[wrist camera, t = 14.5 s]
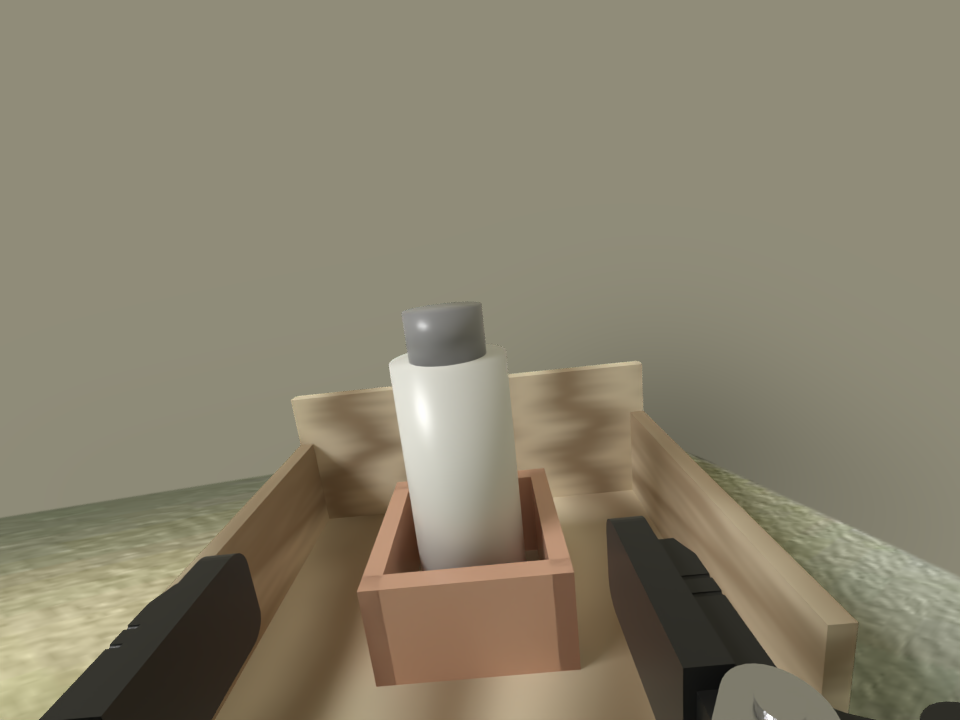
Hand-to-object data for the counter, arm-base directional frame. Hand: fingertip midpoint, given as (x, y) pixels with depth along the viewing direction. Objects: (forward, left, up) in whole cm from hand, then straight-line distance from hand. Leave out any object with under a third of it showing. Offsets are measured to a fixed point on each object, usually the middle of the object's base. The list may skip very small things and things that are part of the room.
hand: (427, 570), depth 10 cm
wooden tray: (0, +10, -10) cm, 14 cm away
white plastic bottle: (0, +9, -9) cm, 13 cm away
